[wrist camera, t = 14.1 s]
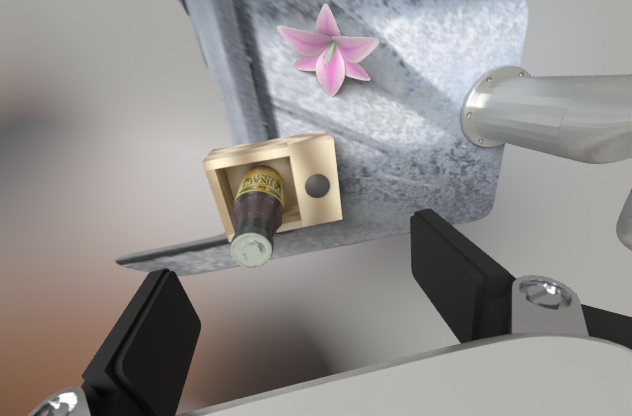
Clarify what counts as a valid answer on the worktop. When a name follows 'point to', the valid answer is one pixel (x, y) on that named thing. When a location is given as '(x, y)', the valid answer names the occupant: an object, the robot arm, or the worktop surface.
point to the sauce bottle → (256, 216)
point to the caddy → (295, 171)
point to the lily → (329, 51)
